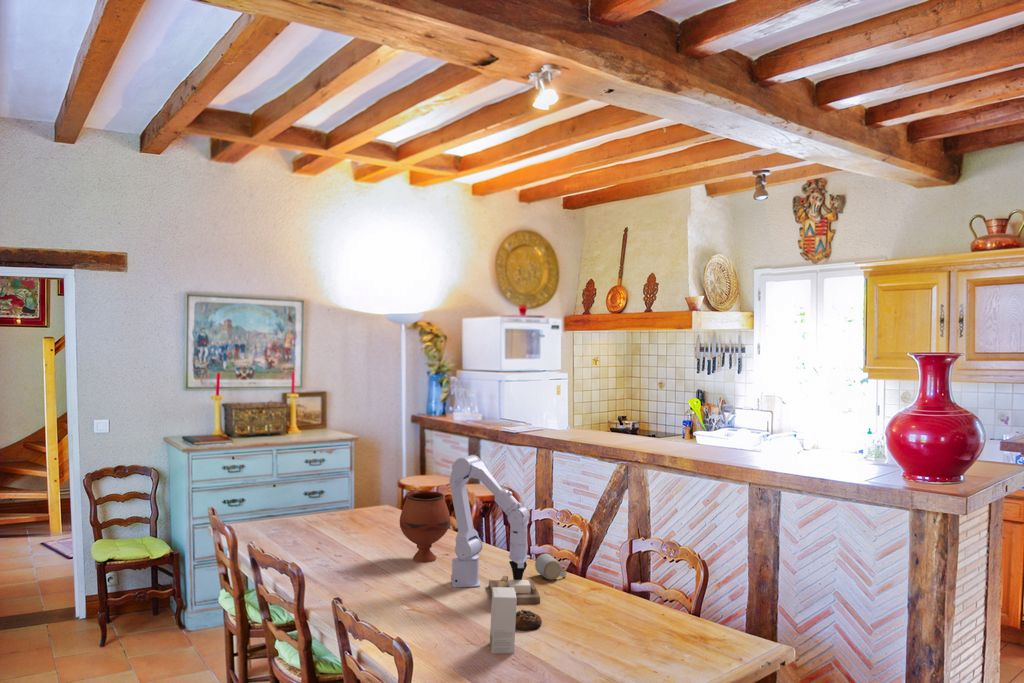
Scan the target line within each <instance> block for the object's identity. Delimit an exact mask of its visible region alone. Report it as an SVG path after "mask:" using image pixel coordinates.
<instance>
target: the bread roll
mask: <svg viewBox="0 0 1024 683" xmlns="http://www.w3.org/2000/svg"><path fill="white" fill-rule="evenodd" d="M542 622H543V620H542V617H541V616H540V615H539V614H538V613H536V612H533V611H531V610H525V609H521V610H518V611H516V624H515V630H517V631H524V632H525V631H535V630H538V629H540V627H541V626H542Z"/></svg>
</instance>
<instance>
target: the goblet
mask: <svg viewBox="0 0 1024 683" xmlns="http://www.w3.org/2000/svg"><path fill="white" fill-rule="evenodd" d="M404 501H405V502H404V504H403V506H402V510H401V512H400V516H399V527H400V530H401V532H402V533H403V535H404V536H405V537H406V538H407V540H409V541H410V542H412V543H413V544H415V545H416V549H417V552H416V553H414V555H413V557H412V561H413V562H416V563H421V564H422V563H424V564H425V563H431V562H433V561H436V560H437V558H436V557H437V556H436V555H435V554H434V552H432V550H431V548H432V546H433V544H435V543H436V542H438V541H439V540H440V539H442V538H443V537H444V535H445V534H446V533H447V532H448V530H449V528H450V524H451V516H450V515H451V514H450V511H449V509H448V505H447V503H446V500H445V495H444V493H442V492H438V491H416V492H410V493H407V494H406V499H405V500H404Z"/></svg>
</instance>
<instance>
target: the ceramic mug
mask: <svg viewBox="0 0 1024 683" xmlns="http://www.w3.org/2000/svg"><path fill="white" fill-rule="evenodd" d="M534 562H535V563H534V568H535V570H536V572H537V573H538V574H540V575H541V576H542V577H544V579H546V580H550V581H554V580H556V579H557V578H559V576H560V577H563V578H566V576H567V574H568V573H567V571H565V570H563V569H562V566H561V563H560V562H559V561H558V560H557V559H556V558H555V557H554V556H552V555H551V554H549V553H542V554H540V555H539V556H538V557H537V558H536V560H535V561H534Z"/></svg>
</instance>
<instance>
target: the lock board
mask: <svg viewBox="0 0 1024 683" xmlns="http://www.w3.org/2000/svg"><path fill="white" fill-rule="evenodd" d="M500 580H501V579H500ZM500 580H499V579H498V580H497V579H496V580H495V579H493V580H492V579H491V580H488V589H489V592H490V596H491V597H492V587H498V583H499V582H500ZM527 580H529V583H530V585H531V593H516V597H517V604H519V605H520V604H521V605H524V604H527V605H529V604H530V605H531V604H541V596H540V593H539V591H538V589H537V587H536V585H535V583H534V581H533V579H531V578H530V577H527ZM506 587H507V585H506Z"/></svg>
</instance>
